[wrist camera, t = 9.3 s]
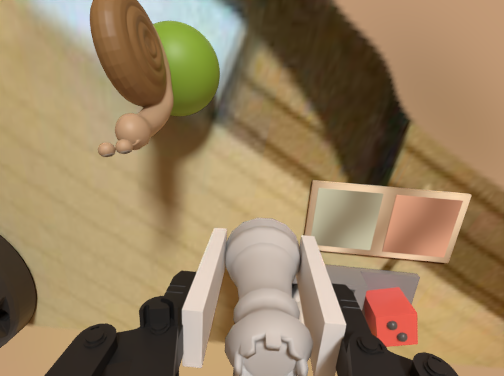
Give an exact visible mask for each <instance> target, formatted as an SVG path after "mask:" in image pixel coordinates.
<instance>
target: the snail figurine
mask: <svg viewBox="0 0 504 376" xmlns="http://www.w3.org/2000/svg"><path fill="white" fill-rule="evenodd" d="M90 26H91V34H92V38H93V43H94V46H95V49H96V52H97V55H98V58H99V60H100V63H101V65H102V67H103V69H104V71H105V73H106V75H107V77H108V78H109V80H110V81H111V83H112V84H113V86H114V87H115V88H116V89H117V91H118V92H119V93H120V94H121V95H122V96H123V97H124V98H125V99H126V100H128V101H129V102H131V103H133V104H135V105H138V106H142V107H143V109H142V110H141V111H140V112H139V113H138V114H134V113H127V114H124V115H122V116H121V117H120V118H119V119H118V121H117V123H116V126H115V133H116V137H117V139H118V140H119V141H118V142H117V143H116V148H115V147H114V146H113V145H112V144H110V143H102V144H100V145H99V147H98V153H99V154H100V155H101V156H103V157H110V156H113V155H114V154H115V150H117V151H118V152H119V153H121V154H127V153H130V152H131V151H132V150H138V149H140V148H142V147H143V146H145V145H147V144H148V142H149V140H150V137H152V136H153V135H155V134H156V133H157V132H158V131H159V130H160V129H161V128H162V127H163V126H164V125H165V124H166V122H167V120H168V119H169V117H170V115H172V116H187V115H191V114H194V113H196V112H198V111H200V110H202V109H203V108H204V107H206V106H207V105H208V104H209V102H210V101H211V100H212V98H213V97H214V95H215V93H216V91H217V88H218V84H219V78H220V70H219V63H218V59H217V56H216V53H215V51H214V49H213V47H212V46H211V44H210V43H209V41H208V40H207V39H206V38H205V37H204V36H203V35H202V34H201V33H200V32H199V31H198V30H196V29H195V28H193V27H191V26H189V25H187V24H184V23H181V22H177V21H162V22H158V23H155V24H152V22H151V20H150V19H149V17H148V15H147V13H146V12H145V10H144V9H143V7H142V6H141V5H140V3H139V2H138V1H137V0H93V2H92V5H91V9H90Z"/></svg>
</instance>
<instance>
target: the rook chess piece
mask: <svg viewBox="0 0 504 376" xmlns="http://www.w3.org/2000/svg"><path fill="white" fill-rule="evenodd" d="M300 258H301V255H300V252H299V244H298V241H297V238H296V235H295V234H294V233H293V232H292V231H291V230H290V229H289V227H288V226H287V225H285V224H283V223H281V222H279V221H277V220H274V219H269V218H255V219H252V220H249V221H246V222H243V223H242V224H240V225H239V226H238V227H237V228H236V229H234V230H233V231H232V232H231V234H230V236H229V238H228V240H227V242H226V256H225V265H226V268H227V271H228V273H229V275H230V278H231V280H232V281H233V282H234V283H235V285H236V286H237V288H238V296H239V301H238V303H237V305H236V306H235V308H234V318H233V320H234V322H235V324H234V325H233V326H232V328H231V330H230V331H229V333H228V335H227V336H226V338H225V353H226V355H227V357H228V359H229V361H230V363H231V365H232V366H233V367H234V372H233V376H297V375H298V376H307V373H308V365H307V361H308V360H309V358H310V357H311V353H312V348H313V340H312V337H311V334H310V331H309V329H308V328H307V327H306V326H305V325H304V324H303V323H302V322H301V321H299V317H300V310H299V308H298V305H297V302H296V301H295V300H294V299H293V298H292V283H293V281H294V279H295V277H296V275H297V273H298V271H299V265H300Z"/></svg>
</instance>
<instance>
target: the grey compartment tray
mask: <svg viewBox="0 0 504 376" xmlns="http://www.w3.org/2000/svg"><path fill="white" fill-rule="evenodd" d="M325 267H326V270H327V273H328V275H329V278H330V281H331V283H333V284H344V285H346V286H347V287H348V288H349V289H350V290H351V291H352V292H353V293H354V296H355V298H356V300H357V302H358V304H359V306H360V309H361V311H362V313H363V315H364V317H365V320H366V322H367V324H368V326H369V328H370V330H371V333H372V335H374V336H376V337H377V338H379V339H380V340H381V341H382V342H383V343H384V345H385V346H386V347H389V346H400V345H412V344H418V338H417V312H416V311H415V309H414V308H413V307H412V305H411V304H412V301H413V298H414V294H415V291H416V288H417V285H418V282H419V279H420V277H419V276H418V275H417V274H414V273H404V272H394V271H384V270H374V269H364V268H354V267H344V266H334V265H325ZM295 284H297V279H296V277H295V279H294V281H293V283H292V288H293V286H294V285H295Z"/></svg>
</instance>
